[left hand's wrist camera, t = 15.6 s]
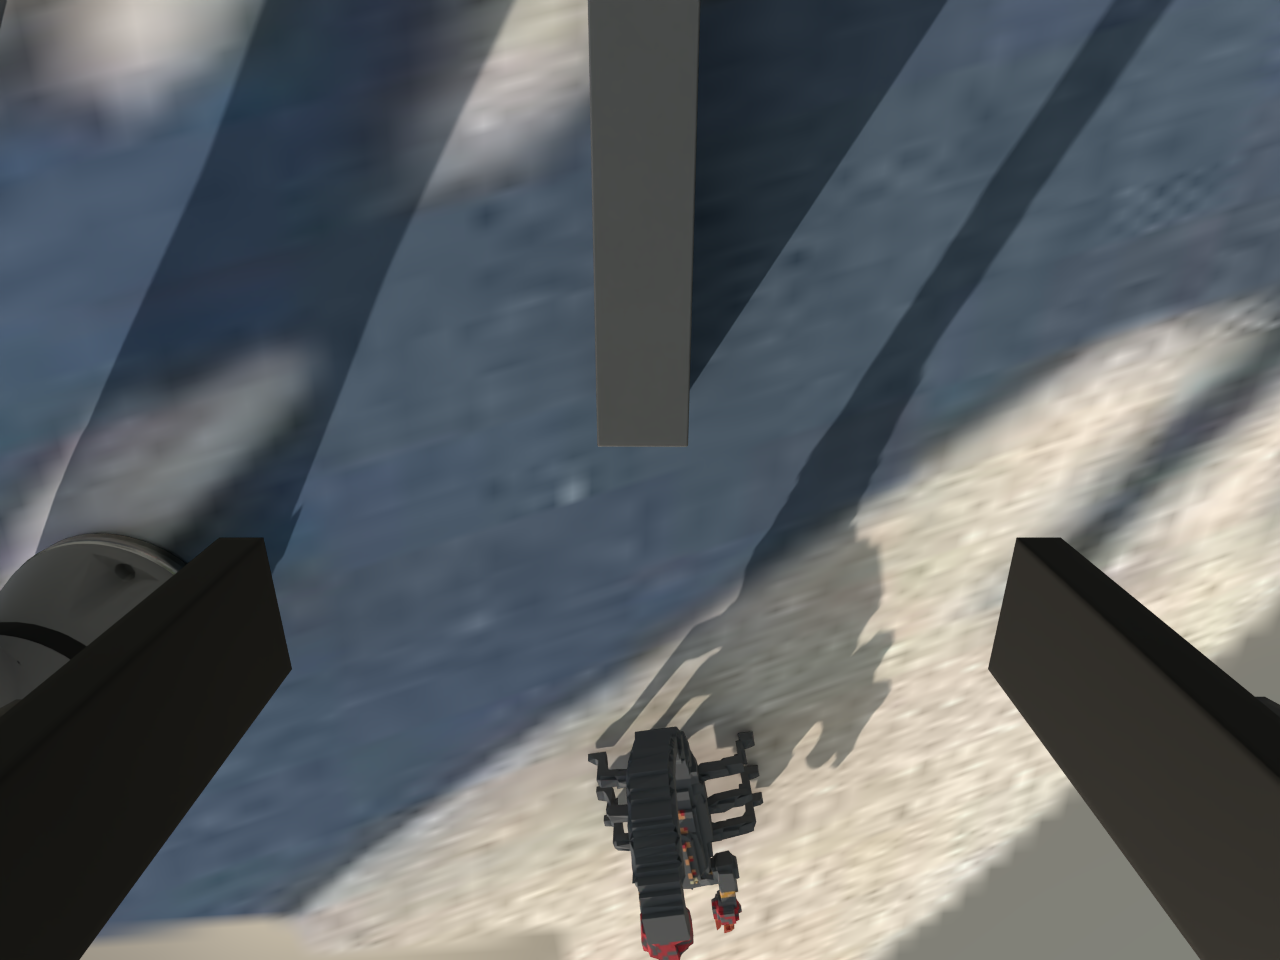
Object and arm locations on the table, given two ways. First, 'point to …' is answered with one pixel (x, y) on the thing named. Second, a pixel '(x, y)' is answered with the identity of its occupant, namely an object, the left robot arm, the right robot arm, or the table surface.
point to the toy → (677, 831)
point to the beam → (643, 215)
